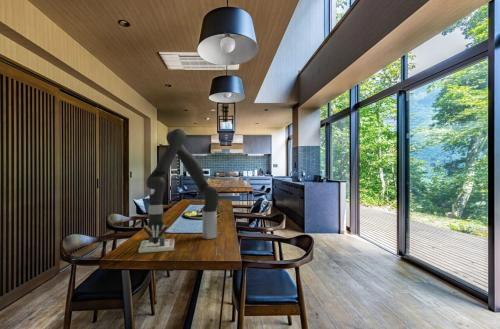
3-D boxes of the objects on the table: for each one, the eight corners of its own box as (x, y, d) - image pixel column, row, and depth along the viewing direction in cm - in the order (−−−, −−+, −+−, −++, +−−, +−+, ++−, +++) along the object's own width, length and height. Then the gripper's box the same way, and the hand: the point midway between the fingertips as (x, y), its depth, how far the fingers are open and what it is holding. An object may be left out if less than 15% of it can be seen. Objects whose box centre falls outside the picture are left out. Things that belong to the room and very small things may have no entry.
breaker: (153, 240, 153) (153, 233, 154) (153, 241, 151) (153, 234, 151) (149, 240, 153) (149, 234, 153) (148, 242, 150) (148, 235, 150)
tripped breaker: (164, 244, 146) (164, 237, 146) (164, 245, 144) (164, 238, 144) (160, 244, 146) (160, 237, 146) (159, 245, 143) (159, 238, 143)
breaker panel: (174, 242, 159) (174, 238, 159) (173, 250, 143) (173, 246, 143) (142, 244, 154) (143, 240, 154) (138, 253, 138) (138, 249, 138)
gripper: (168, 210, 150) (168, 240, 150) (144, 211, 146) (143, 242, 146) (167, 213, 142) (167, 244, 142) (142, 214, 139) (141, 246, 139)
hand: (155, 243), depth 144 cm, fingers closed
